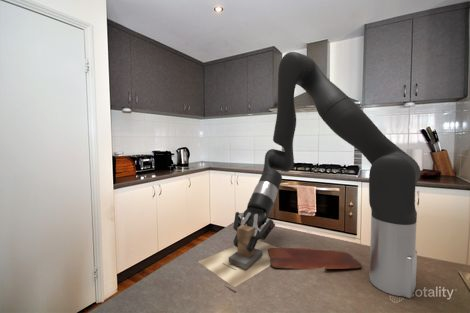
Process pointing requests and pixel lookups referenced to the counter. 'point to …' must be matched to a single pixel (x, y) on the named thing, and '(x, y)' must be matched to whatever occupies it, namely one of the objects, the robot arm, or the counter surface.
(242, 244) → the block
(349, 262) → the wooden tablet
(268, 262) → the birch board
